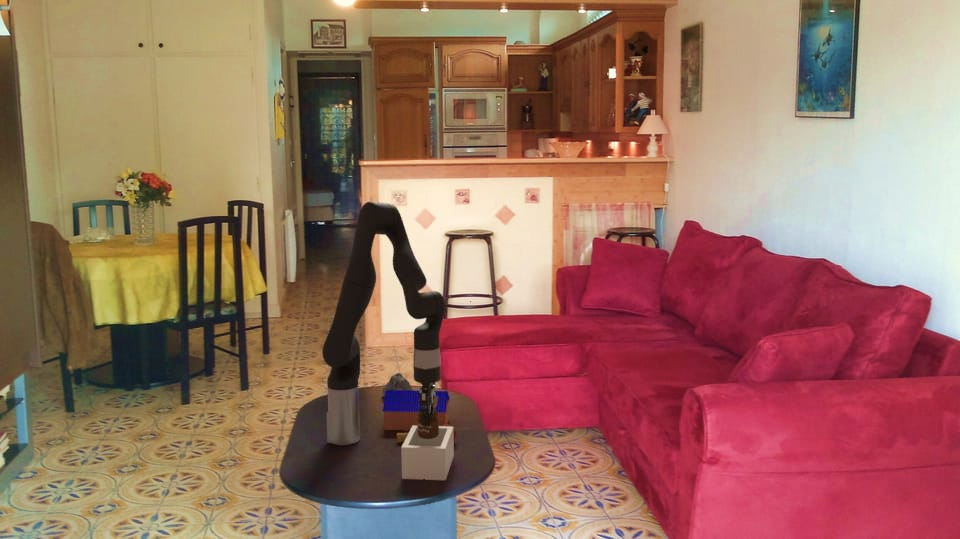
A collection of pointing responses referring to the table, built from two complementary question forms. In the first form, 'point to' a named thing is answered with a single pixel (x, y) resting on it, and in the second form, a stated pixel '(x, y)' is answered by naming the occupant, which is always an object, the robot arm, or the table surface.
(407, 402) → the house
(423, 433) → the utensil holder
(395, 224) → the robot arm
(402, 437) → the kendama
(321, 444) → the table surface
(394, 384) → the mineral rock
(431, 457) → the open rectangular box
